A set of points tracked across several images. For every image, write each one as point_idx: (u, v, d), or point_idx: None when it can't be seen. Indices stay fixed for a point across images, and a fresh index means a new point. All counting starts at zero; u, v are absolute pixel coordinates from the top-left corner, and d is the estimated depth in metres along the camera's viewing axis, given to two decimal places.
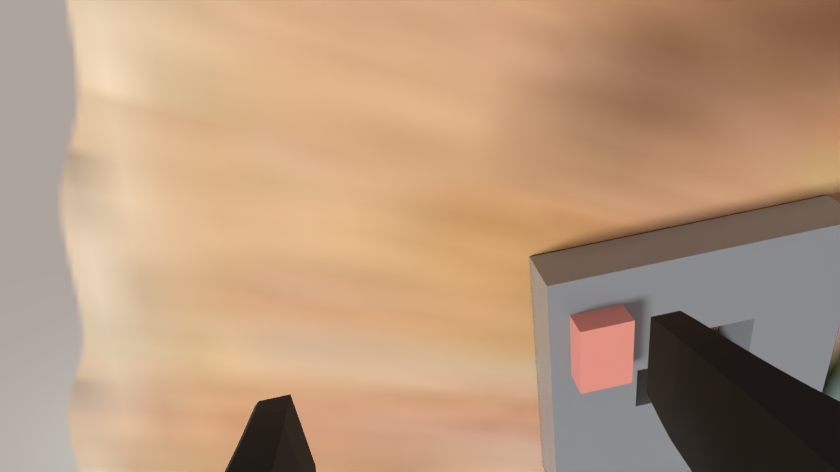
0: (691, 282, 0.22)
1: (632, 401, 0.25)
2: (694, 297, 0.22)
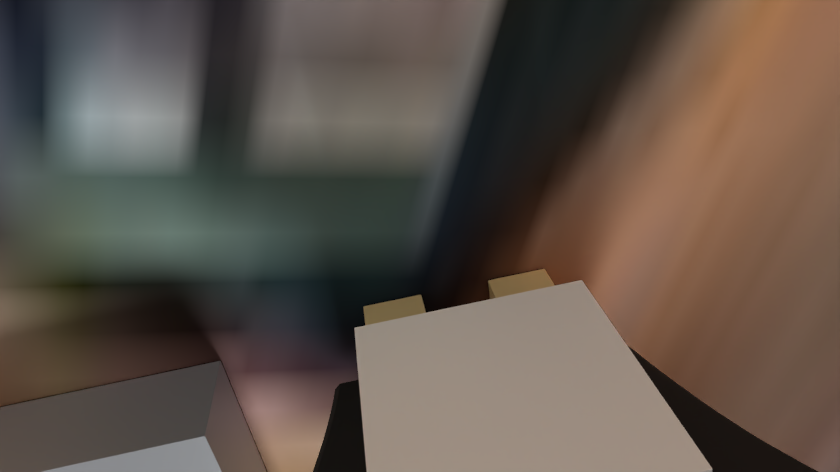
0: None
1: None
2: None
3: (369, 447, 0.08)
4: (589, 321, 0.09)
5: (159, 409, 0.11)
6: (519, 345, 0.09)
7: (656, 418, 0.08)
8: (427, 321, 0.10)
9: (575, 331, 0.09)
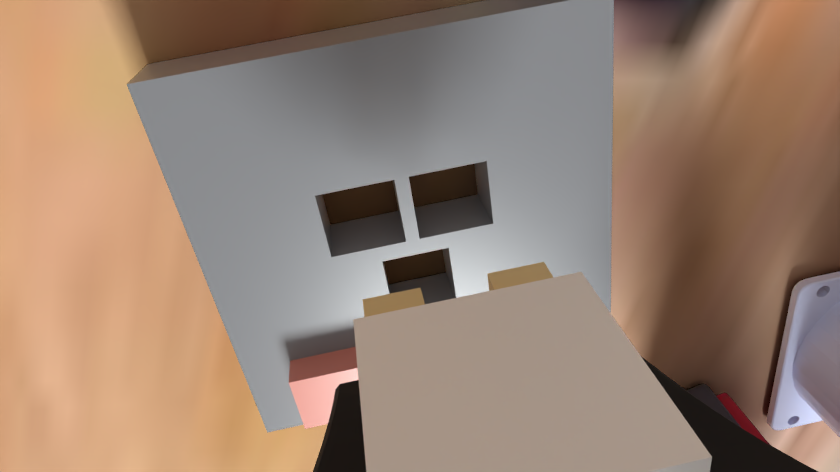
0: (256, 296, 0.18)
1: None
2: (279, 286, 0.18)
3: (368, 437, 0.08)
4: (588, 312, 0.09)
5: None
6: (518, 336, 0.09)
7: (655, 407, 0.08)
8: (426, 313, 0.10)
9: (574, 322, 0.09)
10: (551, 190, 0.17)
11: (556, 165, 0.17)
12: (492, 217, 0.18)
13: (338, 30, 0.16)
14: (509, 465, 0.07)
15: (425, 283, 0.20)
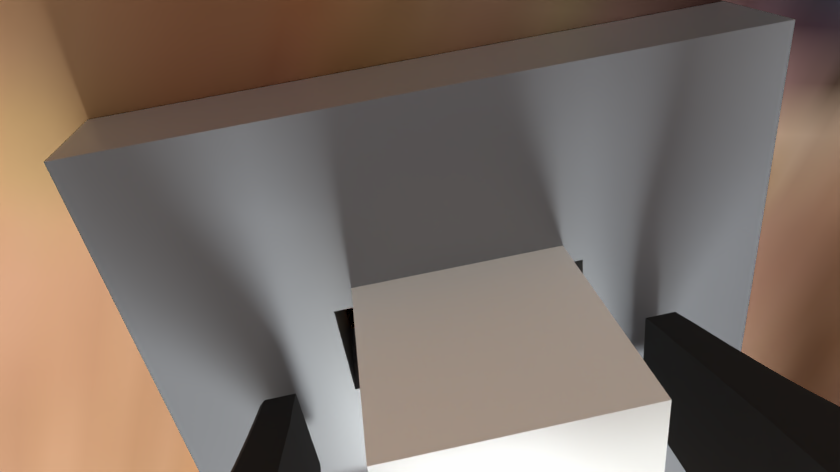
0: None
1: None
2: None
3: (364, 387, 0.09)
4: (568, 280, 0.10)
5: (704, 20, 0.10)
6: (503, 301, 0.10)
7: (624, 359, 0.09)
8: (419, 282, 0.11)
9: (554, 289, 0.10)
10: (668, 295, 0.12)
11: (679, 262, 0.12)
12: None
13: (370, 71, 0.11)
14: (491, 409, 0.08)
15: None
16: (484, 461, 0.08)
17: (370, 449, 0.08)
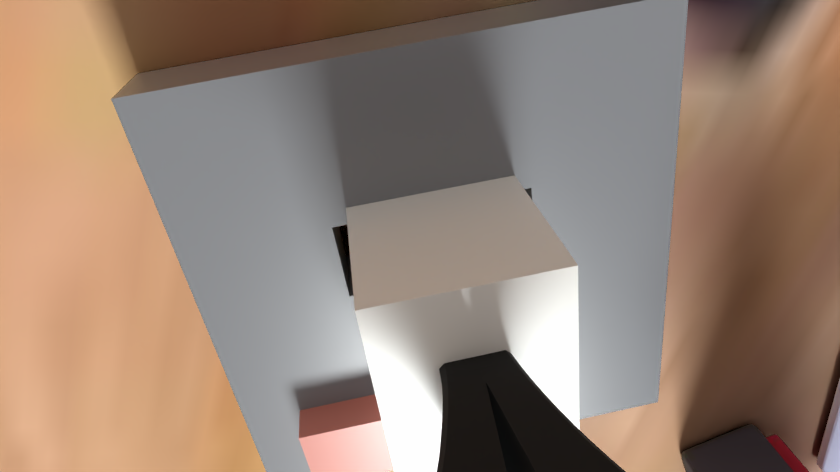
0: (262, 340, 0.15)
1: None
2: (289, 328, 0.15)
3: (354, 267, 0.12)
4: (515, 197, 0.13)
5: None
6: (463, 212, 0.13)
7: (548, 244, 0.11)
8: (399, 202, 0.14)
9: (504, 203, 0.13)
10: (603, 220, 0.15)
11: (611, 192, 0.15)
12: None
13: (361, 35, 0.14)
14: (447, 275, 0.11)
15: None
16: (440, 310, 0.11)
17: (357, 301, 0.11)
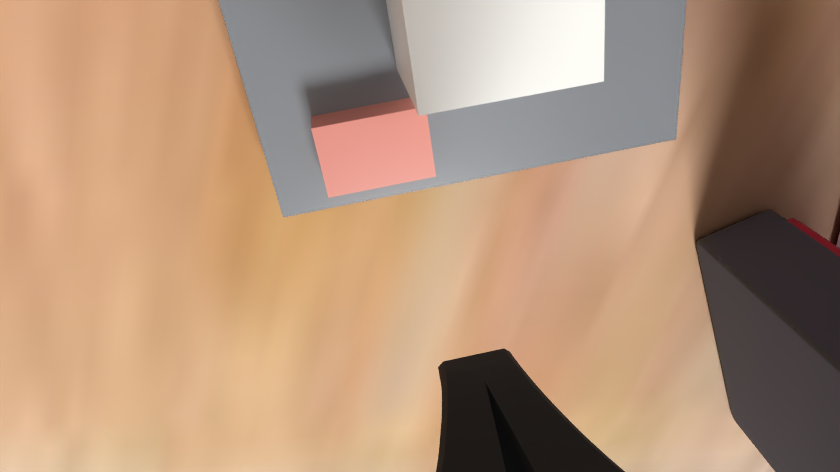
0: (274, 18, 0.15)
1: None
2: (301, 5, 0.15)
3: None
4: None
5: None
6: None
7: None
8: None
9: None
10: None
11: None
12: None
13: None
14: None
15: None
16: None
17: None
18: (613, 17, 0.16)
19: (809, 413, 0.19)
